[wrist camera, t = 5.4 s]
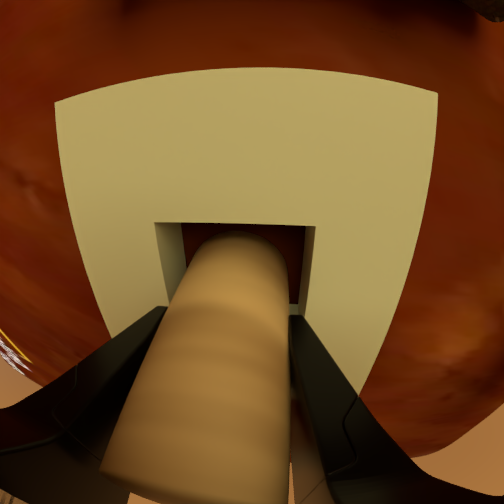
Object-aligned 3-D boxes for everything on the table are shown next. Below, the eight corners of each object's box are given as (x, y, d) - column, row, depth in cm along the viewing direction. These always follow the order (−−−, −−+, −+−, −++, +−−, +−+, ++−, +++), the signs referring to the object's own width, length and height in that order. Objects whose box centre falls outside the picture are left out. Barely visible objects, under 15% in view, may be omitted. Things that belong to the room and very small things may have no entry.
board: (404, 93, 8) (438, 93, 6) (349, 364, 15) (356, 399, 13) (93, 98, 9) (54, 102, 7) (147, 351, 16) (133, 383, 14)
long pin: (284, 314, 11) (279, 520, 4) (197, 309, 12) (135, 497, 5) (291, 232, 10) (301, 497, 3) (186, 229, 10) (63, 446, 3)
